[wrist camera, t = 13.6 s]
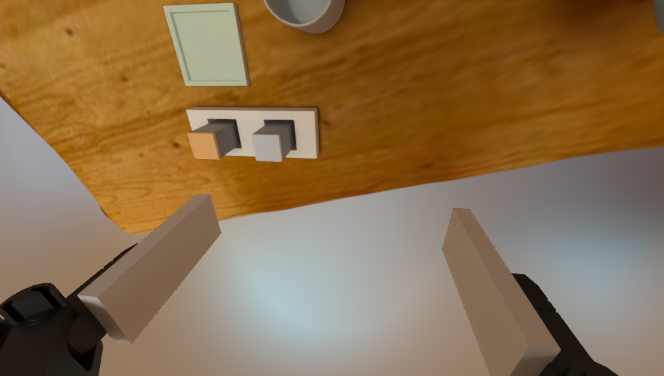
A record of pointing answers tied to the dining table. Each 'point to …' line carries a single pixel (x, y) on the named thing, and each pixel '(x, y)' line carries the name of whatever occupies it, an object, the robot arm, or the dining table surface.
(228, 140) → the plug
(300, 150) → the strip
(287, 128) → the grey square peg
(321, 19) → the mug
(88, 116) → the dining table surface
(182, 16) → the tray
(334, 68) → the dining table surface
